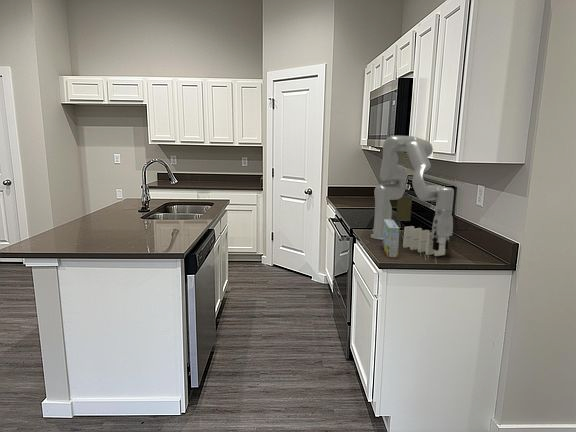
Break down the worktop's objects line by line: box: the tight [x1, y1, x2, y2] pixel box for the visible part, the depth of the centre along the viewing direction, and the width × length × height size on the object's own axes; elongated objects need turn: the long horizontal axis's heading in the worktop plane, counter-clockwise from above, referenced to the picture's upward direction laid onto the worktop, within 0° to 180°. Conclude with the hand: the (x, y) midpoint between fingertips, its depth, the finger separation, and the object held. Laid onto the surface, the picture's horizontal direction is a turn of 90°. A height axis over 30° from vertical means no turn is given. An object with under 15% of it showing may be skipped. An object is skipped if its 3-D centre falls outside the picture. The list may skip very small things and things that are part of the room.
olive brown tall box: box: [395, 191, 413, 222], centre depth 292 cm, size 11×10×20 cm
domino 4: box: [424, 231, 435, 256], centre depth 202 cm, size 1×6×11 cm, turn 120°
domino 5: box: [433, 234, 446, 257], centre depth 198 cm, size 1×6×11 cm, turn 120°
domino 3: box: [417, 229, 431, 253], centre depth 207 cm, size 1×6×11 cm, turn 120°
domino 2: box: [409, 227, 423, 251], centre depth 211 cm, size 1×6×11 cm, turn 120°
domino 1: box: [402, 225, 415, 249], centre depth 215 cm, size 1×6×11 cm, turn 120°
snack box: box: [382, 219, 401, 258], centre depth 204 cm, size 21×6×15 cm, turn 174°
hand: (440, 248), depth 198 cm, fingers closed on domino 5, 5 cm apart
